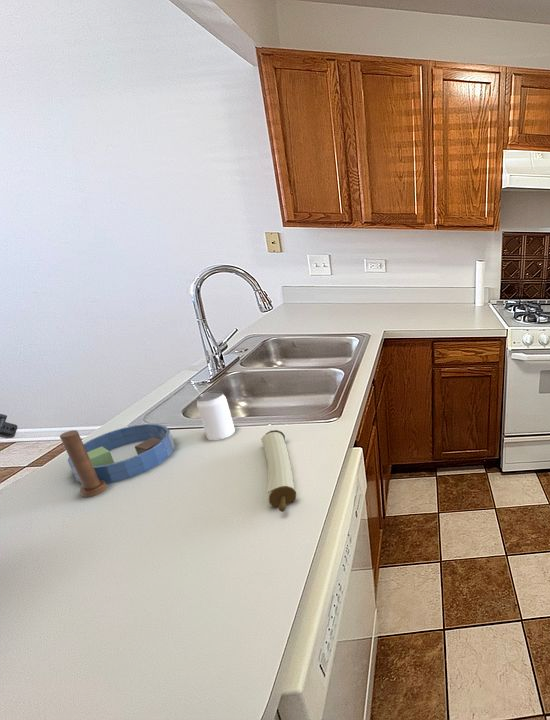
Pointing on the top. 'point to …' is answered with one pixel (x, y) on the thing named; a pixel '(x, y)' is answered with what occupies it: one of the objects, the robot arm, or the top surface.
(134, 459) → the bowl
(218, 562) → the top surface
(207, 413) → the can
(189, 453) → the top surface
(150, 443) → the block walnut
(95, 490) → the brown wooden rod
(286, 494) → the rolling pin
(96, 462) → the block sage
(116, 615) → the top surface
